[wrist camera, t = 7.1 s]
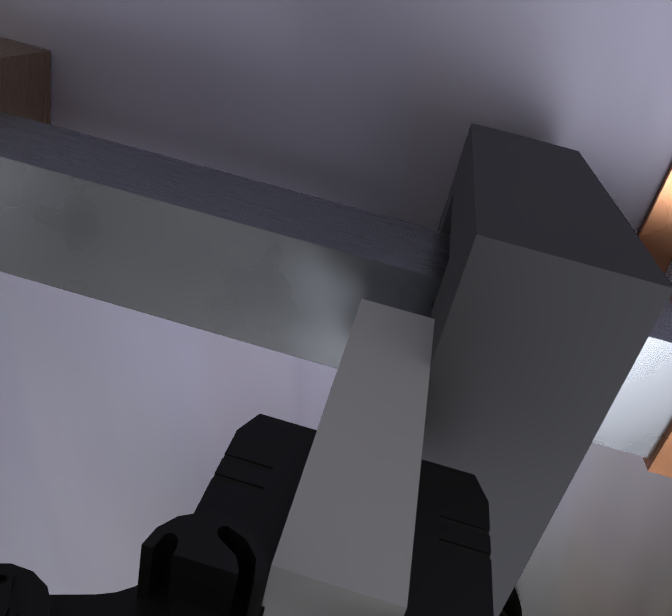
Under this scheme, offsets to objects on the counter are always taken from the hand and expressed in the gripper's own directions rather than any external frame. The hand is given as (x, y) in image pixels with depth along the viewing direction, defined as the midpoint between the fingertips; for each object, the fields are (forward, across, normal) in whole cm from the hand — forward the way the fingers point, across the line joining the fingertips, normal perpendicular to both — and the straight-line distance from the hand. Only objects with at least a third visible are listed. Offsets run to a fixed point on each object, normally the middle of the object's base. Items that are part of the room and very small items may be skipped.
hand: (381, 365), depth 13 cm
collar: (+7, +2, 0) cm, 8 cm away
